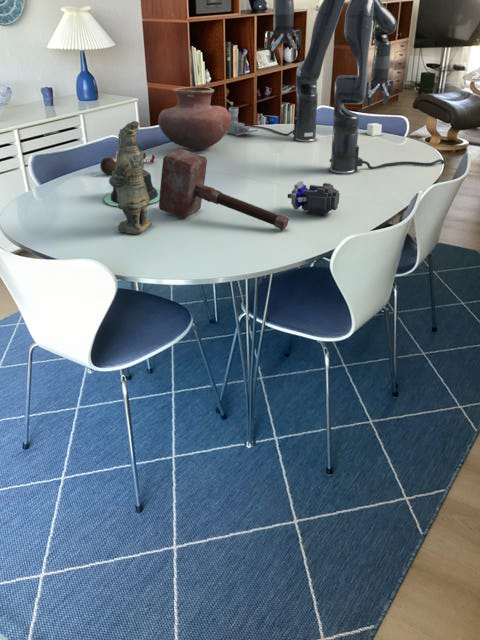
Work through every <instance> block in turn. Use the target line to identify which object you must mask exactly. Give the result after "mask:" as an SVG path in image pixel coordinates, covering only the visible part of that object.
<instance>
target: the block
mask: <svg viewBox="0 0 480 640" xmlns="http://www.w3.org/2000/svg"><path fill="white" fill-rule="evenodd" d="M382 128H383V125H382V124H380V123H378V122H373V123H372V122H371V123H367V127H366V134H367V135H368V136H371V137H376V136H382Z"/></svg>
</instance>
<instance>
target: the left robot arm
mask: <svg viewBox="0 0 480 640" xmlns="http://www.w3.org/2000/svg"><path fill="white" fill-rule="evenodd" d="M345 2H346V0H323V1H322V2H321V4H320V5H319V7H318V10H317V13H316V16H315V19H314V22H313V26H312V30H311V37H310V44H309V47H308V51H307V54H306V56H305V58H304V60H303V61H301V62H300V63H299V64H298V65H297V68H296V73H295V93H296V110H295V111H296V113H295V117H294V118H293V119H294V120H293V129H292V130H291V131H289V132H288V133H283V132H280V131H277V130H274V129H273V128H269V127H265V126H259V125H252V124H246V123H244V126H246V127H249V128H257V129H263V130H268V131H271V132H273V133H275V134H279V135H282V136H290V135H291V134H292V136H293V141H297V142H302V143H310V142H314V141H316V140H317V119H318V118H317V117H318V96H319V94H318V87H317V86H318V81H319V78H320V76H321V73H322V69H323V64H324V60H325V57H326V53H327V51H328V49H329V46H330V43H331V41H332V39H333V35H334V34H335V30H336V29H337V25H338V22H339V20H340V16H341V14H342V11H343V7H344V5H345ZM373 21H374V24H373V40H374V50H373V57H372V58H373V59H372V63H371V73H370V81H367V85H366V95H365V105H366V106H367V107H371V102H372V96H373V94H375V93H377V92H381V93H382V94H383V98H382V105H384V106H386V105H387V104H388V102H389V97H390V96H392V95H393V94H394V80H391V79H389V80H388V78H389V73H390V66H391V65H390V64H391V51H392V42H391V41H389V38H388V36H389V35H390V36H391V35H392V34H394V33H395V31H396V30H397V20H396V17H395V16H394V15H393V13H392V12H390V10H389V9H388V8H387V7H386V6H385V5H384V3H383V2H382V1H381V0H374V9H373ZM239 123H243V121H239Z"/></svg>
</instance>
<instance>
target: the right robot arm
mask: <svg viewBox="0 0 480 640" xmlns="http://www.w3.org/2000/svg"><path fill="white" fill-rule="evenodd" d="M373 9H374V0H349V2H348V4H347V7H346V11H345V15H344V25H343V26H344V27H343V36H344V38H345V41H346V43H347V45H348V47H349V49H350V52H351V53H352V55H353V58H354V60H355V64H356V69H357V75H338V76H337V77H336V79H335V82H334V90H333V97H334V98H333V120H332V121H333V123H332V124H333V125H332V136H331V138H332V139H331V153H330V158H329V163H330V168H329V171H330V172H331V173H334V174H340V175H346V174H352V173H355V172H358V167H363V164H365V165H366V166H367V168H368V169H370V170H376V169H380V168H384V167H390V166H398V165H415V166H433V165H436V164H438V163H442V164H446V162H445V160H444V159H442V158H439V159H438V158H437V159H436V160H434V161H432V162H419V161H392V162H386V163H385V162H384V163H383V164H380V165H376V166H372V165H371V164H370V162H369V161H366V160H363V159H362V158H361V157H359V151H360V145H359V144H358V138H359V127H360V115H359V114H357V113H355V112H353V111H350V110H349V109H348V108H346V107H345V105H362V104H363V103H364V101H365V100H366V96H365V95H366V85H367V82H368V68H369V67H368V63H369V54H370V53H369V51H370V44H371V37H372V29H373V21H374V20H373ZM294 16H295V3H294V0H273V22H272V23H273V24H272V25H273V28H272V31H269V30H266V31H265V32H264V49H265V50H268V51H269V55H268V56H269V58H268V59H269V61H270V62H271V63H273V62H274V63H275V54H276V53H275V52H276V51H275V49H276V47H277V46H278V45H279V44H280V45H281V44H282V45H283V44H288V46H290V48H291V49H290V50H291V51H290V59H291V60H290V61H295V60H296V59H297V50H298V49H300V48H301V47H302V30H301V29H296V30H294ZM272 37H273V40H272V42H271V38H272ZM293 37H295V41H294V39H293Z"/></svg>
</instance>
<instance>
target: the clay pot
mask: <svg viewBox="0 0 480 640" xmlns="http://www.w3.org/2000/svg"><path fill="white" fill-rule="evenodd" d="M172 92H173V93H175V95H176V97H177V104H176V105H175V106H174V107H170V108H169V107H168V108H164V109H163V110H161V111H160V113H159V115H158V120H157V123H158V127H159V129H160V130H161V132H162V133H163V135H164V136H165V137H166V138H167V139H168V140H170V141H171V142H172V143H174V144H175V145H177V146H180V147H182V148H186V149H190V150H193V151H197V150H198V151H200V150H205V149H208V148H210V147H213V146H214V145H216V144H217V143H220V141H221V140H222V139H223V138H224V136H225V135H226V134H227V130H228V127H229V125H230V122H231V116H230V113H229V110H228V109H226V108H225V107H224V106H221V105H211V103H212V102H211V100H212V96H213V94H214V92H215V89H214V88H211V87H207V86H186V87H185V86H184V87H176V88H173V89H172Z"/></svg>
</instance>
